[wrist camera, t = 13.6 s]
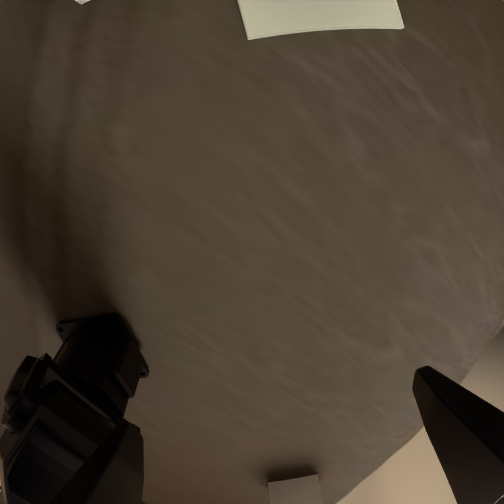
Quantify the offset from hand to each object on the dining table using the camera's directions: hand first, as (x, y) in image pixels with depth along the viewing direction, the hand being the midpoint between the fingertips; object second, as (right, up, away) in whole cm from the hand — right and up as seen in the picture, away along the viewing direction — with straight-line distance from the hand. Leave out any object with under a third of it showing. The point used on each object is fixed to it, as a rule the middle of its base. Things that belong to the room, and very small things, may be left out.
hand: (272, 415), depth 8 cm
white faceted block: (+5, -27, +27) cm, 38 cm away
